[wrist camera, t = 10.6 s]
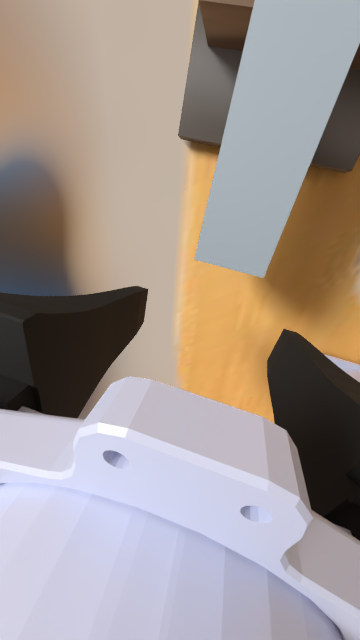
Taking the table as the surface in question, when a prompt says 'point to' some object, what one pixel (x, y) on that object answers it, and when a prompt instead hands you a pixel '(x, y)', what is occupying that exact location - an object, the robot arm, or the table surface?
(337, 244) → the table surface
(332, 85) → the batten
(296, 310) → the table surface
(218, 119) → the fulcrum
